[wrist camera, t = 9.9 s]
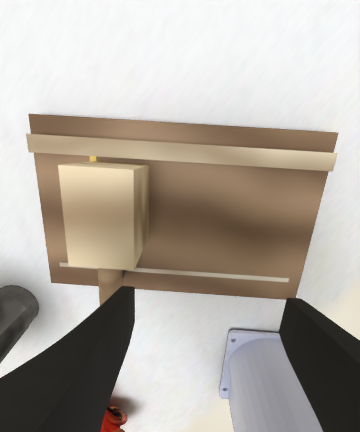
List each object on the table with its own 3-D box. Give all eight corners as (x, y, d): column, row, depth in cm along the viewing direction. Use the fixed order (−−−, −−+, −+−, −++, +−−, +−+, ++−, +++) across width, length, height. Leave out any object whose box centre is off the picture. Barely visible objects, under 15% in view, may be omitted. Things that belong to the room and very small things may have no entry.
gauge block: (147, 277, 19) (134, 320, 14) (102, 274, 19) (73, 316, 14) (149, 164, 16) (133, 169, 11) (96, 161, 16) (57, 165, 11)
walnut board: (287, 289, 20) (301, 309, 18) (60, 273, 21) (42, 291, 18) (325, 134, 16) (351, 131, 14) (42, 116, 17) (15, 110, 14)
